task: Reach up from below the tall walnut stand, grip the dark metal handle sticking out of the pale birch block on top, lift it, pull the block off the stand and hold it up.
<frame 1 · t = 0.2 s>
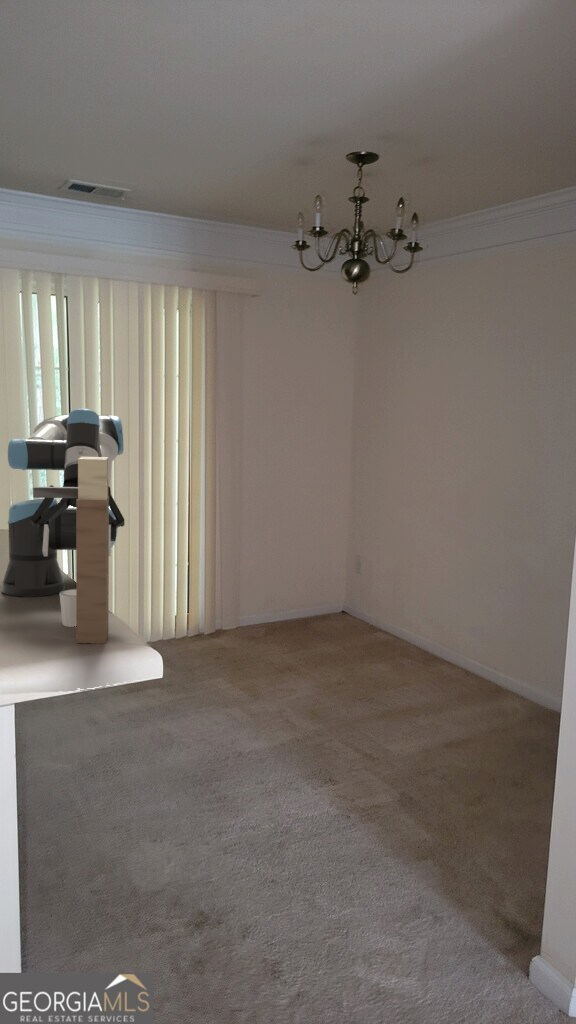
hand: (76, 554, 170), 15 cm above the table, tool tilted 35°, fingers open, 13 cm apart
shot glass: (75, 624, 169), on the table
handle: (93, 497, 155), point 29 cm above the table, touching stand
stand: (92, 637, 158), on the table
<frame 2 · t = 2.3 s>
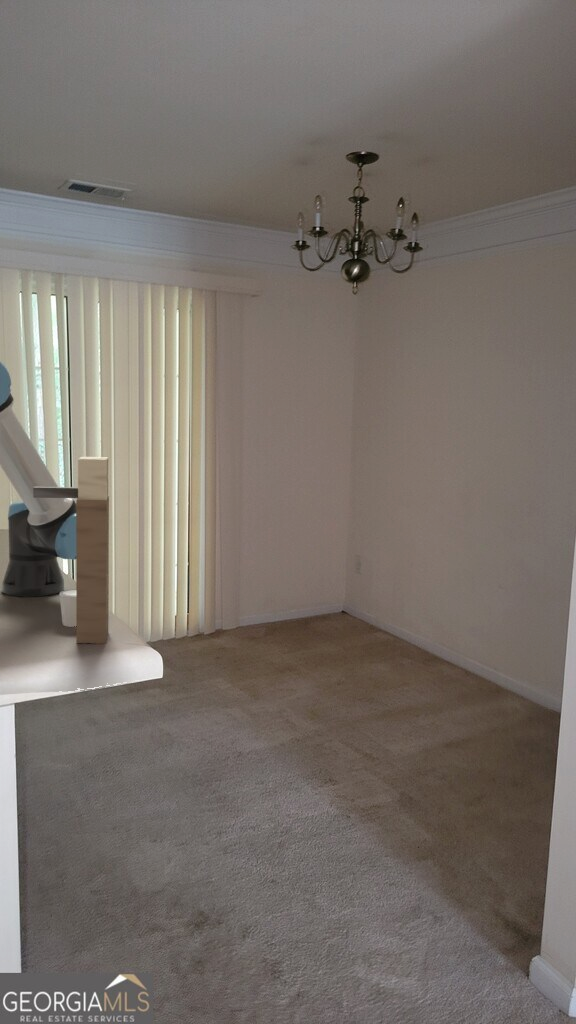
nothing on the table moved.
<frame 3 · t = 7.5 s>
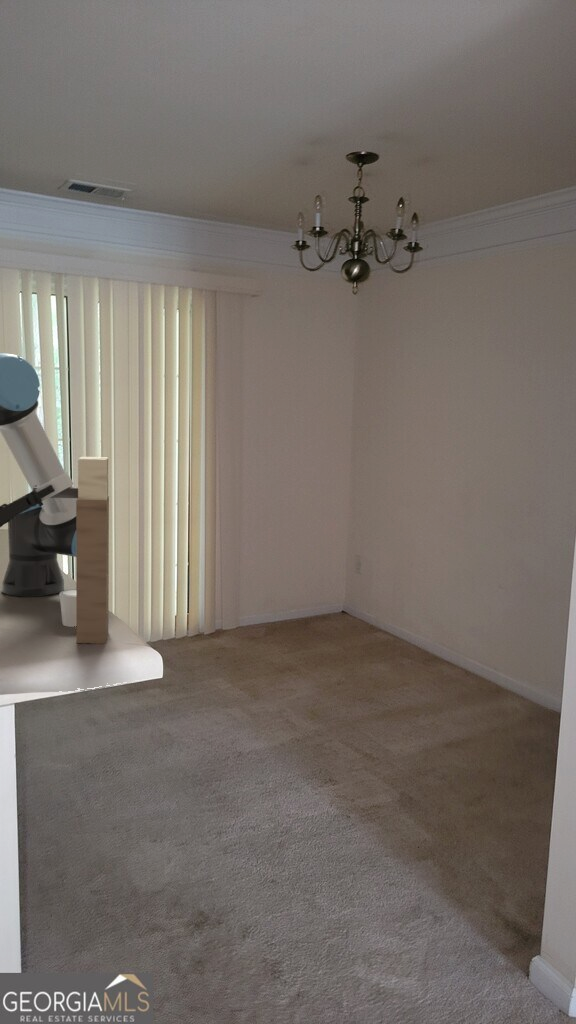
hand: (69, 478, 153), 33 cm above the table, tool pointing upward, fingers closed on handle, 2 cm apart
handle: (93, 497, 155), point 29 cm above the table, touching gripper, stand
everything else where it was.
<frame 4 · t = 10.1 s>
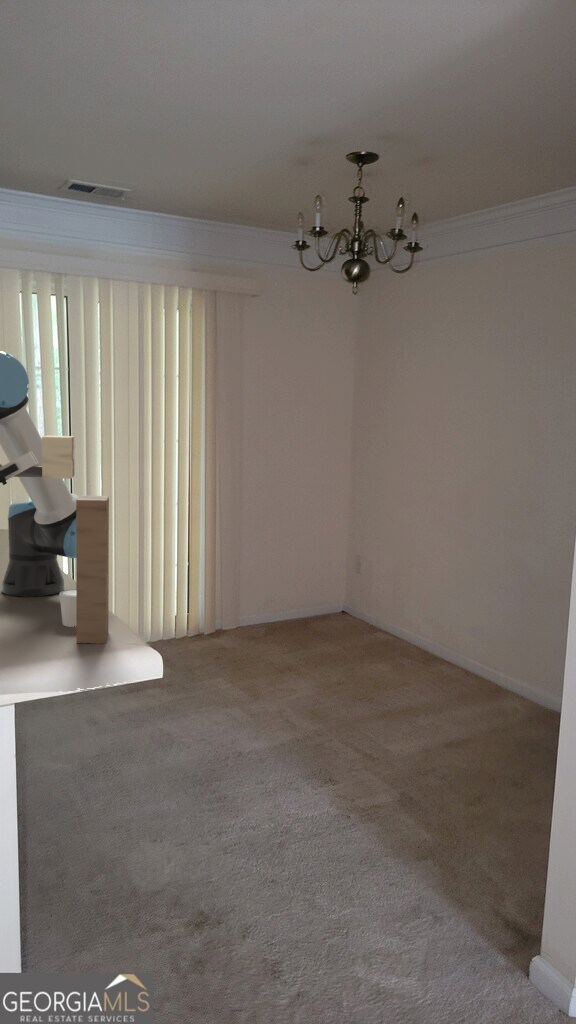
hand: (33, 457, 151), 37 cm above the table, tool pointing upward, fingers closed on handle, 2 cm apart
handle: (58, 476, 153), point 33 cm above the table, touching gripper
everything else where it was.
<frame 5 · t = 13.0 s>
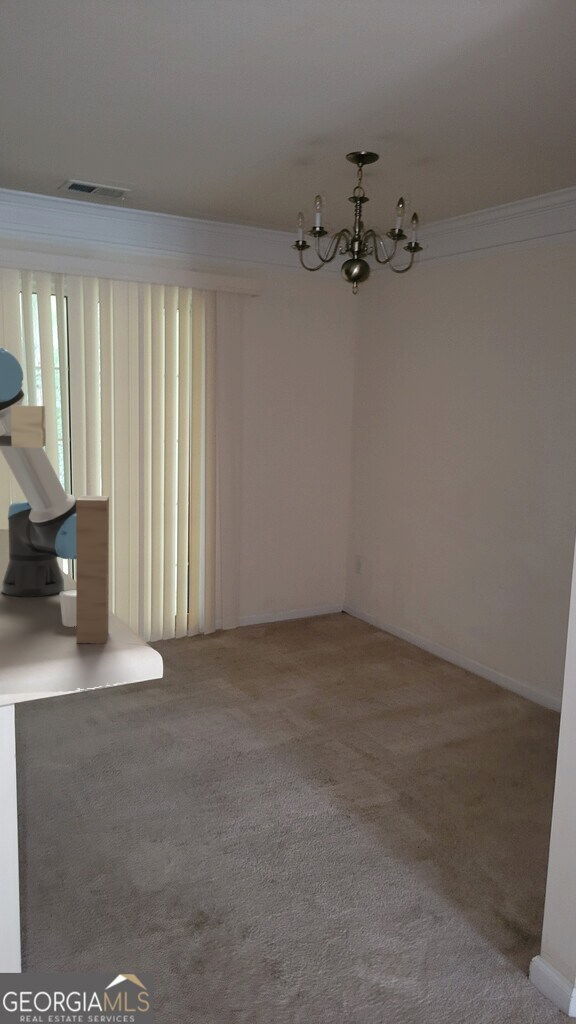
hand: (3, 426, 151), 43 cm above the table, tool pointing upward, fingers closed on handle, 2 cm apart
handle: (29, 446, 152), point 39 cm above the table, touching gripper
everything else where it was.
at the end: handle touching gripper; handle point 39.0 cm above the table; the gripper is holding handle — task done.
